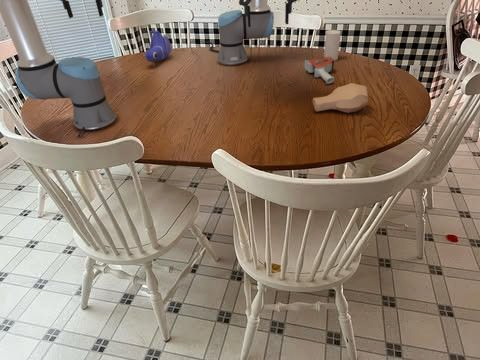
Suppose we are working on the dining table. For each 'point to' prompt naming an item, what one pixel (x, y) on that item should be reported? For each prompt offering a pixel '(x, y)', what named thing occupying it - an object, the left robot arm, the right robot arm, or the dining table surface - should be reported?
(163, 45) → the toy
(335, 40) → the can
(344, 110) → the squash
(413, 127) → the dining table surface
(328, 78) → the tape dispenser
